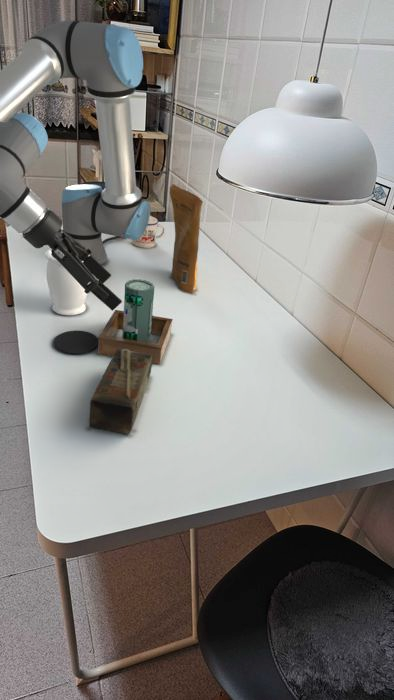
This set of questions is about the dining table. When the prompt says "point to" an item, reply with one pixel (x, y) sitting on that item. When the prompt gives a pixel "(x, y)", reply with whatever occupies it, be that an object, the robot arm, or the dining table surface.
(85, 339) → the coaster
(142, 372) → the beverage carton
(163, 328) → the wooden square frame
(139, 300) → the can
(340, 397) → the dining table surface
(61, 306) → the jar
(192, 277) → the pancake mix bag
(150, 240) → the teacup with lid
